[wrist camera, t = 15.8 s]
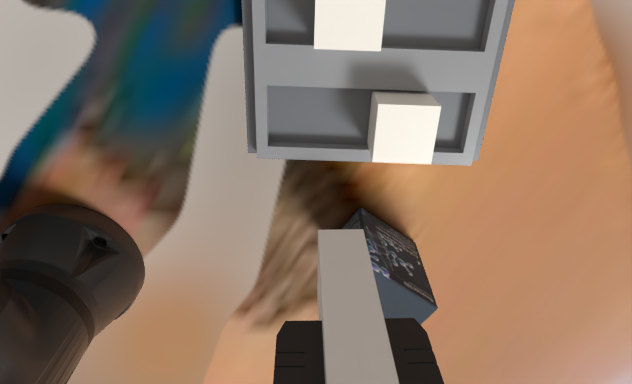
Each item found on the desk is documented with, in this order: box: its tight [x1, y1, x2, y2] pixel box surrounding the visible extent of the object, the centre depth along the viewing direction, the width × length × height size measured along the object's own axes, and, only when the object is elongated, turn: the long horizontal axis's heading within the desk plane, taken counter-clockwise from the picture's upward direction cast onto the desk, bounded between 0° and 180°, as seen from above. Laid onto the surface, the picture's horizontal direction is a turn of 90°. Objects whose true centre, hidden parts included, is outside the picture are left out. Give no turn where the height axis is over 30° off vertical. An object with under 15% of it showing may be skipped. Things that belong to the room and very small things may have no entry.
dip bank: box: [242, 0, 515, 165], centre depth 37 cm, size 22×17×3 cm
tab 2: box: [367, 90, 441, 164], centre depth 37 cm, size 5×5×4 cm
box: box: [341, 208, 438, 325], centre depth 42 cm, size 8×6×11 cm
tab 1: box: [314, 0, 386, 51], centre depth 33 cm, size 5×5×4 cm
